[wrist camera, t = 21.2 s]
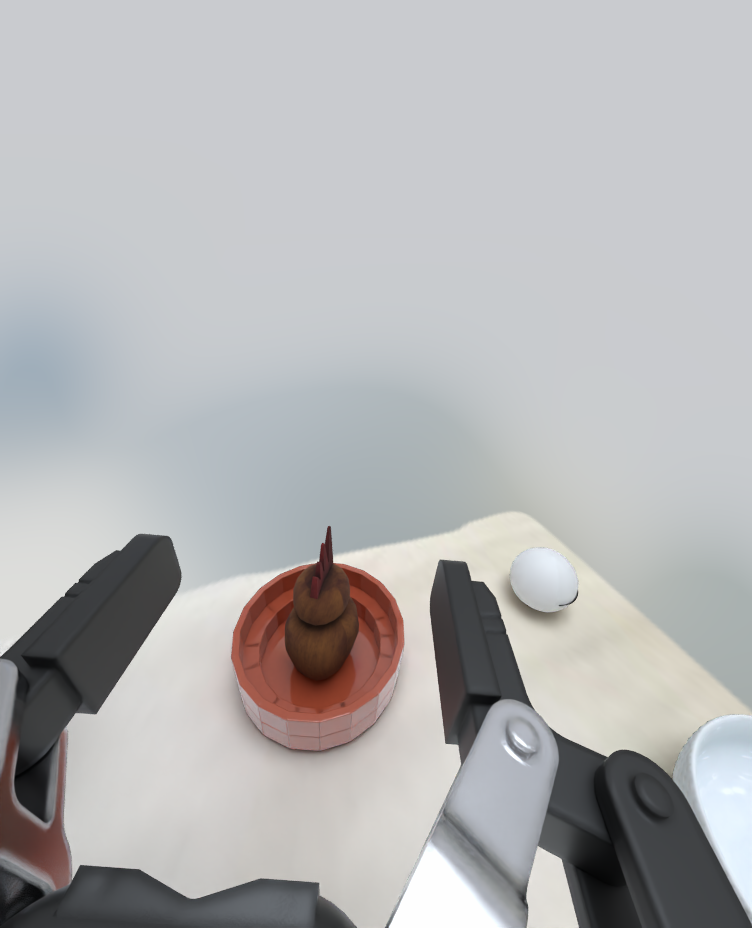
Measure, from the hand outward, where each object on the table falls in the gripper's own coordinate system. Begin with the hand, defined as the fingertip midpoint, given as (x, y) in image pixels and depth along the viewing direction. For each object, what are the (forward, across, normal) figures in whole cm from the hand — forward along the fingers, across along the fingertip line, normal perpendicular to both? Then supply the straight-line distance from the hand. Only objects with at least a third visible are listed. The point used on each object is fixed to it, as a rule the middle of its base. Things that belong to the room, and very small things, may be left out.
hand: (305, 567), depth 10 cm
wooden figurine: (+12, +2, +25) cm, 28 cm away
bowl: (+12, +2, +26) cm, 29 cm away
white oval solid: (+22, -24, +26) cm, 42 cm away
